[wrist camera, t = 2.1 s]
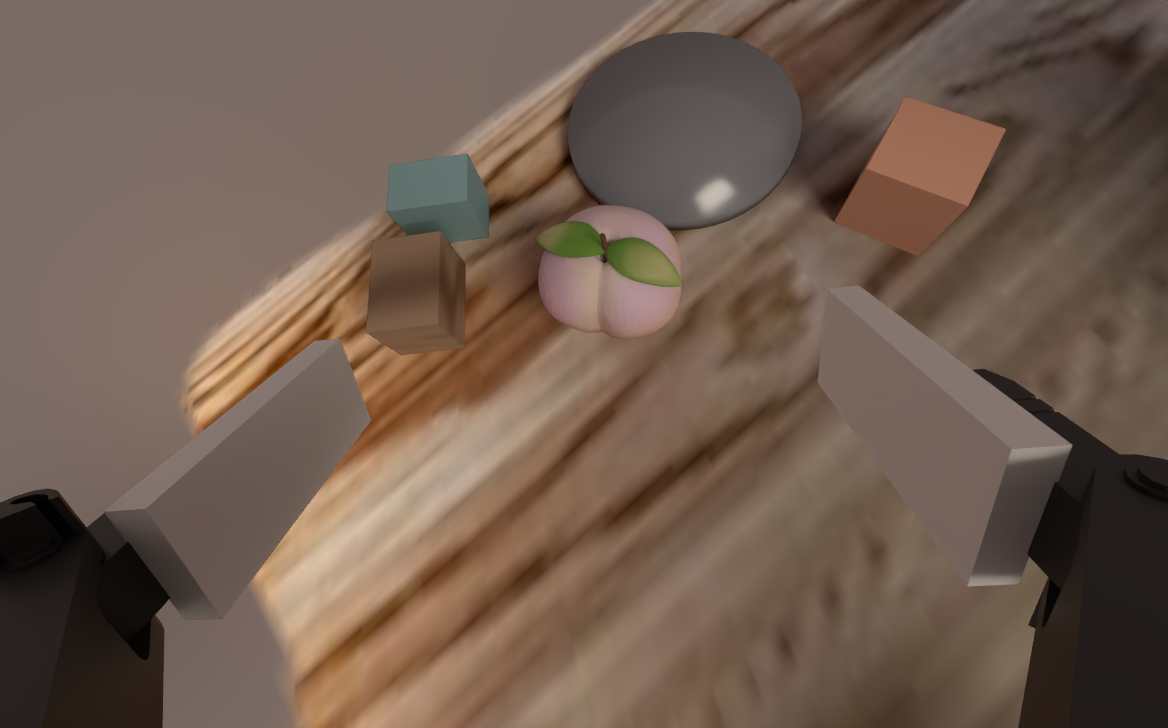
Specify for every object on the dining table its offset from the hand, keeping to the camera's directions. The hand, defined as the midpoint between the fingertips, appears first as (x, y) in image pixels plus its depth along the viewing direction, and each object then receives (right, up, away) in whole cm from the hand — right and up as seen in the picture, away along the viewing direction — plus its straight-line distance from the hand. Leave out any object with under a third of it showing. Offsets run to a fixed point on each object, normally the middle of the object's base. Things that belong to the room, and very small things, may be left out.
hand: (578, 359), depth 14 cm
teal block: (-10, +12, +27) cm, 31 cm away
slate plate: (+8, +19, +27) cm, 33 cm away
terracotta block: (+22, +11, +23) cm, 34 cm away
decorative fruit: (+3, +4, +23) cm, 24 cm away
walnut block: (-11, +4, +25) cm, 28 cm away
